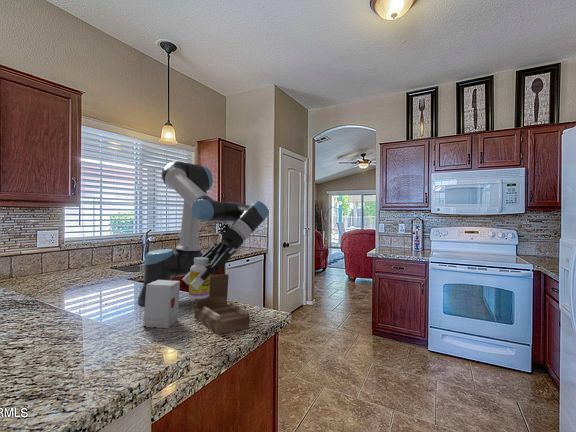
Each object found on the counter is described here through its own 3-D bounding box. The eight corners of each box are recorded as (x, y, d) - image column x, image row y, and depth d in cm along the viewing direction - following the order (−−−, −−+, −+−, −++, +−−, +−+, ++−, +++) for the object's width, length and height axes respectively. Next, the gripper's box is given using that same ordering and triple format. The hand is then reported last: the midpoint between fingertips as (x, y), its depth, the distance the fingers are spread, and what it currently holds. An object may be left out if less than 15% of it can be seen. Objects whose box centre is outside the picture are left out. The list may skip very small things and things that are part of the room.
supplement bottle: (202, 300, 92) (204, 260, 92) (184, 297, 94) (186, 258, 94) (213, 295, 99) (215, 257, 99) (196, 293, 101) (198, 256, 101)
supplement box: (168, 329, 101) (170, 285, 101) (142, 327, 101) (145, 284, 101) (178, 320, 110) (180, 280, 110) (155, 318, 110) (157, 279, 110)
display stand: (194, 317, 113) (196, 276, 114) (224, 312, 122) (226, 274, 122) (216, 334, 98) (219, 286, 99) (249, 326, 107) (251, 283, 107)
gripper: (256, 244, 99) (208, 298, 88) (229, 239, 114) (186, 285, 103) (244, 228, 96) (192, 282, 85) (218, 226, 111) (171, 271, 100)
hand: (189, 284), depth 94 cm, fingers closed on supplement bottle, 7 cm apart
